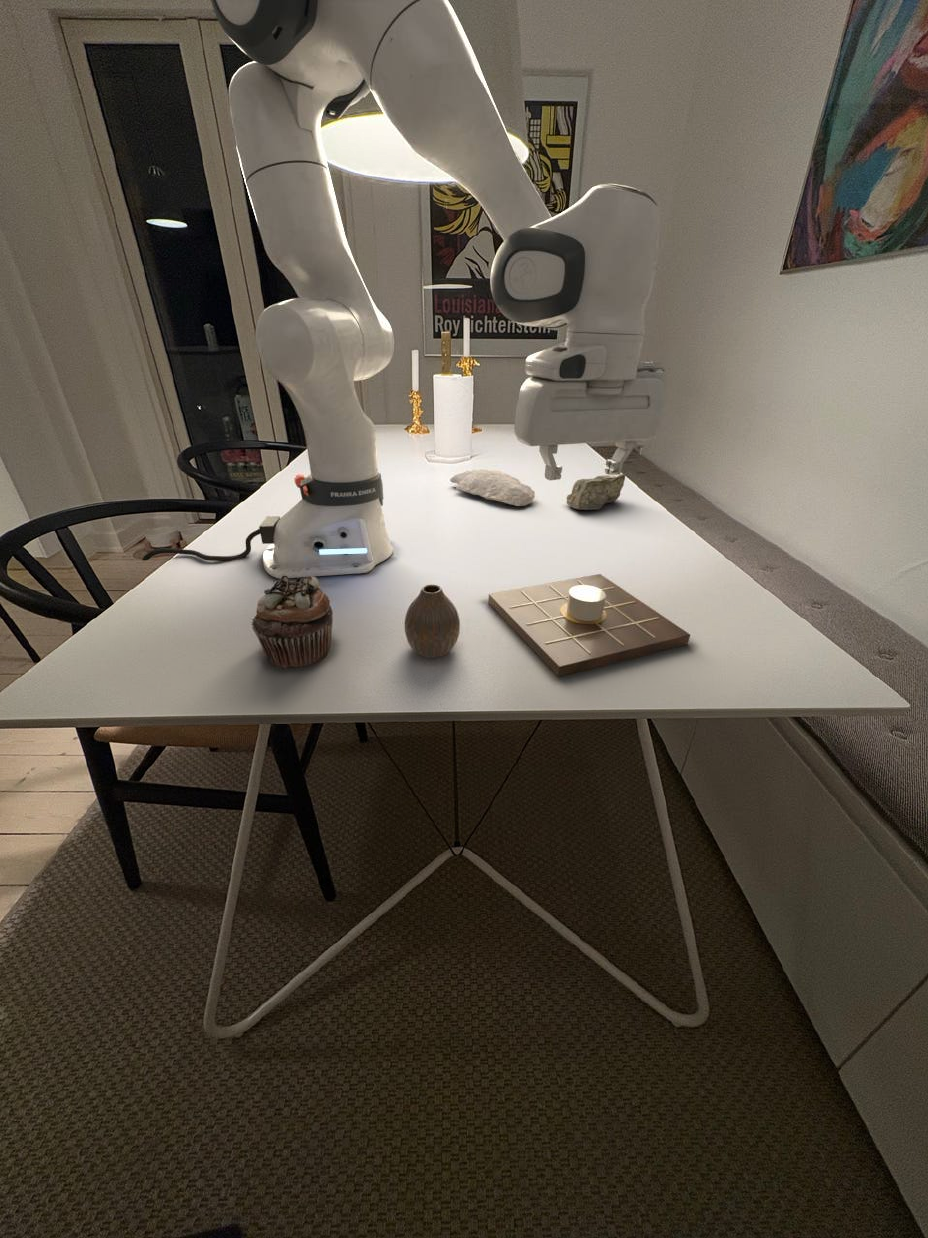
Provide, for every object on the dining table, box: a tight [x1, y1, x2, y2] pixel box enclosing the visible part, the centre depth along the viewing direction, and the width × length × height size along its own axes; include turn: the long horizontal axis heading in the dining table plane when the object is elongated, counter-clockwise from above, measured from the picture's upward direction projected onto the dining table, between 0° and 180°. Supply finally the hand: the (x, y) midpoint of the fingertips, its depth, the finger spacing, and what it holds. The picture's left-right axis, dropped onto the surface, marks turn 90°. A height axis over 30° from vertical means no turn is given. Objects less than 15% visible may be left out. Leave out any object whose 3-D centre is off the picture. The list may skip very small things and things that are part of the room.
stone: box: [449, 469, 536, 507], centre depth 124 cm, size 16×6×25 cm
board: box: [487, 573, 691, 678], centre depth 72 cm, size 20×20×2 cm
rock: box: [566, 473, 626, 511], centre depth 117 cm, size 17×7×10 cm
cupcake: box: [250, 576, 334, 669], centre depth 62 cm, size 10×10×10 cm
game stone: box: [566, 585, 606, 621], centre depth 71 cm, size 5×5×3 cm
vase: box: [404, 584, 461, 659], centre depth 63 cm, size 7×7×9 cm
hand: (583, 476), depth 68 cm, fingers open, 8 cm apart
